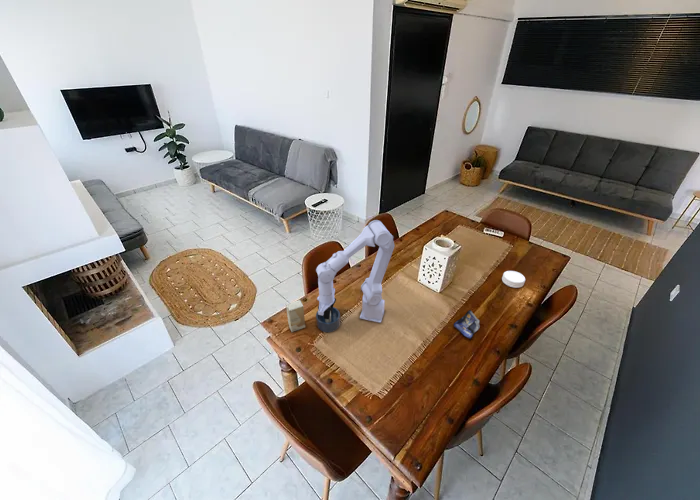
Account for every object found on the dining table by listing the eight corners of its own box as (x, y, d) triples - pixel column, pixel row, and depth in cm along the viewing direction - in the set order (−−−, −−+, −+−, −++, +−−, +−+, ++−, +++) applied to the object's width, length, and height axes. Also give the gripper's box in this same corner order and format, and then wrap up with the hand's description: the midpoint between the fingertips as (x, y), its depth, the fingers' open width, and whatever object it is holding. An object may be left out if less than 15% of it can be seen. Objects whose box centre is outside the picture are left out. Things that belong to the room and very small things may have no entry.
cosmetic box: (291, 332, 125) (288, 311, 118) (288, 325, 128) (284, 304, 122) (306, 327, 127) (303, 305, 121) (302, 320, 131) (300, 299, 124)
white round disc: (518, 291, 145) (520, 285, 143) (497, 281, 151) (499, 275, 149) (527, 282, 150) (529, 276, 148) (507, 273, 157) (509, 267, 155)
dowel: (332, 319, 129) (331, 304, 124) (330, 323, 127) (329, 308, 122) (326, 317, 130) (325, 303, 125) (324, 322, 128) (322, 307, 123)
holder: (343, 317, 132) (342, 308, 129) (335, 334, 124) (335, 325, 121) (321, 312, 134) (321, 304, 132) (313, 329, 126) (312, 320, 124)
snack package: (489, 337, 122) (475, 316, 131) (491, 327, 118) (476, 305, 128) (461, 344, 121) (448, 322, 131) (462, 334, 118) (448, 313, 127)
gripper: (323, 278, 126) (325, 302, 133) (309, 301, 114) (312, 326, 122) (339, 281, 124) (340, 305, 132) (327, 304, 113) (328, 330, 120)
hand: (327, 315), depth 127 cm, fingers closed on dowel, 2 cm apart
